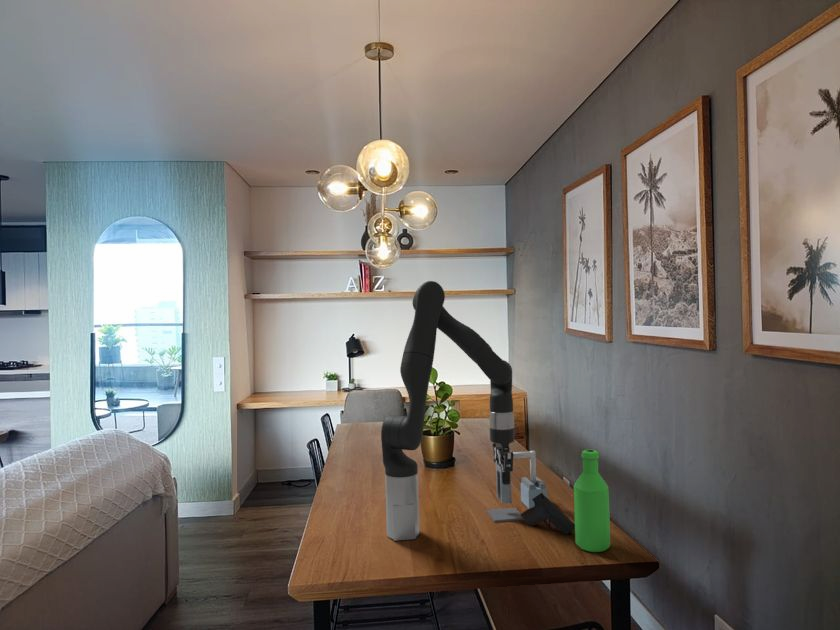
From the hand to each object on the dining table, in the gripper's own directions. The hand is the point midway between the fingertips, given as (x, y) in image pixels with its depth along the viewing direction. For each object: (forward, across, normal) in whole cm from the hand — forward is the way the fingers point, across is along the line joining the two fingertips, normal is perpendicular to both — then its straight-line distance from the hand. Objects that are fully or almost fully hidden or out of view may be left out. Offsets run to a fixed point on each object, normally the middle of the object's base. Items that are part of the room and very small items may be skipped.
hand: (503, 481), depth 167 cm
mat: (+10, 0, 0) cm, 10 cm away
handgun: (+11, -13, -9) cm, 19 cm away
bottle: (+11, -27, -16) cm, 33 cm away
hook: (+6, 0, 0) cm, 6 cm away
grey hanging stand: (+11, +8, -9) cm, 16 cm away
